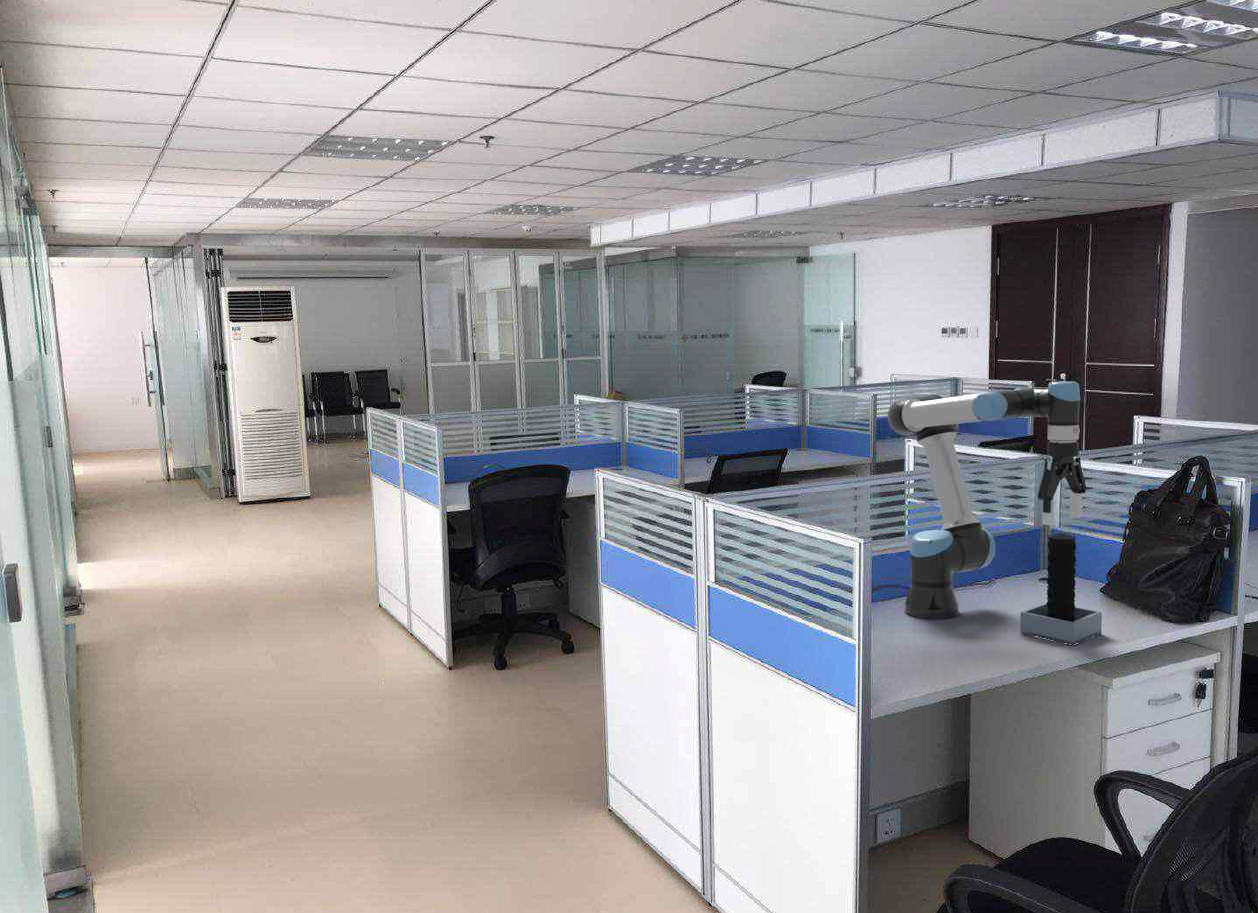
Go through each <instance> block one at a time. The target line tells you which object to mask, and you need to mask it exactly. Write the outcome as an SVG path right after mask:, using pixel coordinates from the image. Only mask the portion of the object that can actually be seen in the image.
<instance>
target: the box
mask: <svg viewBox="0 0 1258 913" xmlns="http://www.w3.org/2000/svg"><path fill="white" fill-rule="evenodd" d="M1047 609H1048V608H1047V602H1045V603H1042V604H1038V605H1036V606H1034V607H1030V608H1028V609H1025V610H1022V611H1020V619H1019V620H1020V621H1019V622H1020V624H1019V626H1020V628H1019V630H1020V631H1019V632H1020V633H1021V634H1020V635H1023V634H1024V636H1027V635H1029V636H1028V637H1032V636H1038V637H1041V638H1046V639H1049V640H1053V641H1056V642H1055V643H1058V642H1060V643H1059V644H1062V643H1067V644H1071V645H1074V644H1076V643H1079V644H1082V643H1083V642H1082V641H1084V642H1086V641H1088V640H1090V639H1089V638H1091V637H1093V636H1095V637H1097V635H1098V636H1099V634H1100V635H1102V626H1103V625H1102V624H1103V622H1102V619H1103V618H1102V615H1103V614H1102V611H1098V610H1094V609H1089V608H1085V607H1079V606H1075V609H1074V611H1075V613H1074V617H1075V621H1074V622H1070V621H1065V620H1060V619H1055V618H1051V617H1047V613H1048V612H1047ZM1093 638H1094V637H1093ZM1087 639H1088V640H1087ZM1091 639H1092V638H1091ZM1049 640H1048V641H1049ZM1085 640H1086V641H1085ZM1053 641H1052V642H1053ZM1067 644H1066V645H1067ZM1071 645H1070V646H1071Z"/></svg>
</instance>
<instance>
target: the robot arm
mask: <svg viewBox="0 0 1258 913" xmlns="http://www.w3.org/2000/svg"><path fill="white" fill-rule="evenodd" d="M1080 404H1081V392H1080V384H1079V383H1078V382H1076V381H1051V382H1049V383H1048V386H1047V388H1034V387H1033V388H1031V387H1018V388H1014V389H1009V390H997V391H995V390H991V391H989V390H988V391H984V392H981V393H972V394H965V395H960V396H959V395H957V396H951V397H948V396H946V395H944V394H943V395H942V394H939V395H938V394H931V395H921V396H920V395H919V396H909V397H903V398H900V399H897V400H895V401H894V402H893V403H892V404H891V406H890V407H889V409H888V412H887V421H888V425H889V426H890V428H891V429H892V430H893V431H894V432H895V433H896V434H899V435H902V436H909V437H910V436H915V438H916V441H917V444H918V445H920V446H921V447H923V449H924V452H925V454H926V459H927V463H928V467H929V470H930V471H929V472H930V474H931V478H932V482H933V483H932V484H933V486H934V489H935V493H936V497H937V500H938V501H937V502H938V505H939V509H940V512H941V516H942V520H943V526H941V529H933V530H931V529H930V530H929V529H928V530H924V531H923V530H922V531H920V532H917V533H916V534H914V535H913V536H911V540H910V548H909V556H910V558H909V559H910V586H909V589H908V592H907V596H906V598H905V601H904V612H905V613H906V614H908V615H909V616H912V617H917V618H921V619H922V618H923V619H933V620H937V619H938V620H940V619H941V620H942V619H948V618H953V617H956V616H958V615H959V614H960V608H959V606H960V605H959V603H958V600H957V597H956V594H955V591H954V589H953V575H954V574H957V573H958V574H959V573H963V572H970V571H971V572H972V571H978V570H981V569H982V568H983V569H984V568H985V567H987V566H989V565H990V564H991V563H992V561H993V559H994V557H995V555H996V543H995V539H994V536H993V535H992V534H991V533H990V532H989V531H988V530H987V529H985V528H983V527H982V522H981V521H980V520H978V519H977V518H976V517H974V514H973V510H972V507H971V503H970V499H969V496H968V492H967V488H966V484H965V481H964V477H963V473H962V470H961V469H962V468H961V466H960V462H959V458H958V455H957V451H956V447H955V443H954V439H955V437H956V436H957V428H958V427H959V424H967V423H977V422H979V423H980V422H992V421H999V420H1007V419H1008V420H1009V419H1018V418H1019V419H1020V418H1030V417H1032V418H1035V417H1037V418H1047V440H1049V441H1048V442H1046V443H1047V445H1046V446H1047V447H1046V448H1047V450H1046V451H1047V454H1046V455H1047V456H1049V457H1051V458H1052V459H1051V461H1045V462H1044V467H1043V468H1044V471H1043V474H1042V477H1041V481H1040V484H1039V488H1038V493H1037V499H1038V500H1041V501H1042V525H1046V526H1051V527H1053V526H1055V500H1054V496H1055V494H1056V491H1057V489H1058V487H1059V484H1060V482H1061V480H1063V479H1064V478H1065V480H1066V481H1067V485H1068V486H1069V488H1070V490H1071V492H1070V493H1069V517H1070V518H1074V519H1082V494H1086V492H1087V490H1086V489H1087V484H1086V479H1085V476H1084V471H1083V469H1082V464H1081V463H1082V461H1081V457H1080V456H1079V454H1080V443H1079V442H1078V440H1079V439H1080V432H1081V430H1080Z"/></svg>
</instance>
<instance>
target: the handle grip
mask: <svg viewBox="0 0 1258 913" xmlns="http://www.w3.org/2000/svg"><path fill="white" fill-rule="evenodd" d="M1047 539H1048V541H1047V561H1048V562H1047V567H1046V568H1047V574H1046V576H1047V579H1046V580H1047V581H1046V583H1047V586H1046V587H1047V589H1046V595H1047V596H1046V600H1047V602H1046V603H1047V608H1048V609H1047V612H1048V613H1047V617H1051V618H1055V619H1060V620H1065V621H1070V622H1074V621H1075V617H1074V613H1075V611H1074V609H1075V607H1076V605H1075V601H1076V599H1075V598H1076V591H1075V590H1076V587H1075V586H1076V566H1077V565H1076V562H1077V559H1076V558H1077V557H1076V554H1077V552H1076V549H1077V544H1076V539H1077V536H1076V535H1072V534H1068V533H1064V532H1059V533H1053V534H1049V535H1047Z"/></svg>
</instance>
